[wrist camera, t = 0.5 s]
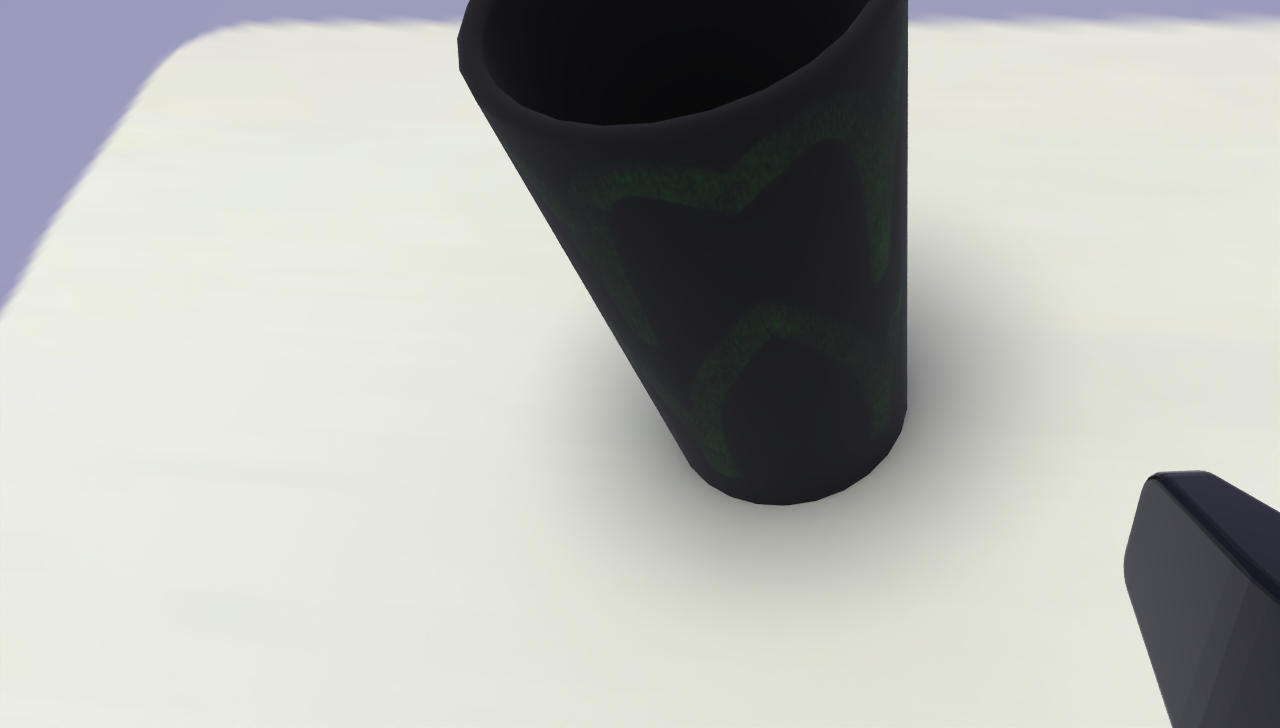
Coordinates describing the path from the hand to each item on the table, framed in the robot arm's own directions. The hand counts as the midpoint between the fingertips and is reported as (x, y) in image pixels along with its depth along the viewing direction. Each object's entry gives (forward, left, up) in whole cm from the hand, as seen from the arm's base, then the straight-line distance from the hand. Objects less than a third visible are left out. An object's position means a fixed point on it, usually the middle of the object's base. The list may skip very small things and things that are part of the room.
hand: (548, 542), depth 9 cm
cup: (+13, -3, -16) cm, 21 cm away
